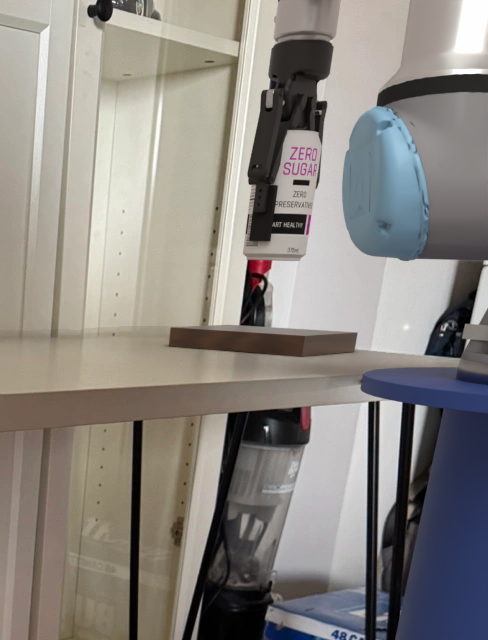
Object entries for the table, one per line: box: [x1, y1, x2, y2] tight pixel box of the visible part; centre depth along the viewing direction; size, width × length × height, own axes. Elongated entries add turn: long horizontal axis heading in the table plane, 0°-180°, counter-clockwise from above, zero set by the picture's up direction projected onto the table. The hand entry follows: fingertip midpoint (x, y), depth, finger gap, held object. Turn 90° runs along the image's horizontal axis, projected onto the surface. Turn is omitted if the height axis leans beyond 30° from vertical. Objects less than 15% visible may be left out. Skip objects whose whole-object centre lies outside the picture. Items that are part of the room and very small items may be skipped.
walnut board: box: [168, 324, 359, 357], centre depth 143 cm, size 20×16×2 cm
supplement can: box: [242, 130, 323, 262], centre depth 136 cm, size 8×8×15 cm
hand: (275, 242), depth 138 cm, fingers closed on supplement can, 8 cm apart
